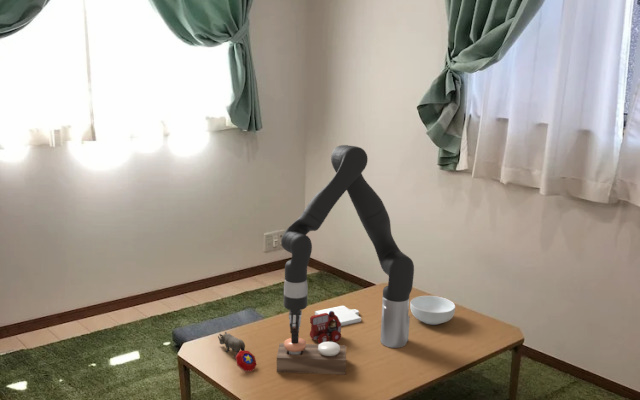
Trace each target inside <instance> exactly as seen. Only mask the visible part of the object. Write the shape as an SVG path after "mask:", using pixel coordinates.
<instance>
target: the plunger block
mask: <svg viewBox="0 0 640 400" xmlns="http://www.w3.org/2000/svg"><path fill="white" fill-rule="evenodd" d="M318 345H319V343H317V344H316V343H314V344H313V343H312V344H311V343H306V348H305V349H304V350H302V351H301V355H289V351H288V350H286V349H285V348H284V342H281V343H280V342H279V345H278V349H277V354H276V373H286V374H287V373H293V374H319V375H320V374H324V375H326V374H327V375H346V371H347V370H346V369H347V352H346V351H347V348H346V345H344V344H343V345H341V344H338V345H339V346H340V352H339V354H337V355H335V356H323V355H321V354H320V353H319V352H318Z"/></svg>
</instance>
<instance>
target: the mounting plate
mask: <svg viewBox="0 0 640 400" xmlns="http://www.w3.org/2000/svg"><path fill="white" fill-rule="evenodd" d="M330 311H333V312H334V314H335V315H336V316H337V317H338V319H339V321H340V323H341V327H343V326H349V325H352V324H357V323H361V321H362V317H361V316H359V313H360V311H359V310H358V309H355V308H353V309H350V308H348V307H346V306H345V305H339V306H334V307H330V308H325V309H320V310H314V315H319V314H323V313H327V314H329V312H330ZM334 321H335V320H334ZM335 327H336V326H335Z"/></svg>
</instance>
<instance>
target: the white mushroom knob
mask: <svg viewBox="0 0 640 400" xmlns="http://www.w3.org/2000/svg"><path fill="white" fill-rule="evenodd" d="M318 344H319V343H318ZM339 345H340V344H338V342H333V341H328V342H322V343H320V344H319V345H318V352H319V353H320V354H321V355H323V356H335V355H337V354H339V352H340V346H339Z"/></svg>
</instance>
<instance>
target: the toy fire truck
mask: <svg viewBox="0 0 640 400" xmlns="http://www.w3.org/2000/svg"><path fill="white" fill-rule="evenodd" d="M334 320H335V321H334ZM309 322H310V323H309V324H310V332H309V337H310V338H311V340H314V341H316V340H317V344H320V343H322V342H335V343H339V342H340V341H341V339H342V334H341V332H342V326H341V323H340V321H339V319H338V317H337V316H336V315H335V314H334V312H333V311H330V312H329V314H327V313H323V314H319V315H315V314H314V315H311V316H310V320H309ZM335 326H336V327H335Z"/></svg>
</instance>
